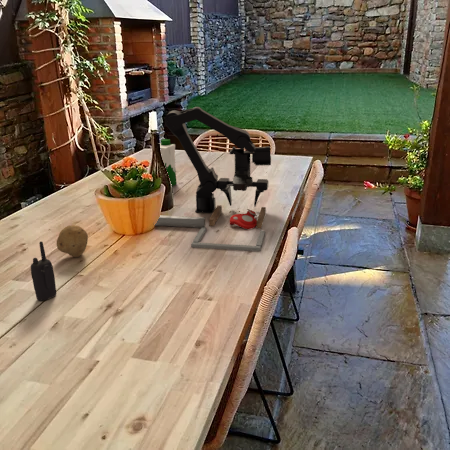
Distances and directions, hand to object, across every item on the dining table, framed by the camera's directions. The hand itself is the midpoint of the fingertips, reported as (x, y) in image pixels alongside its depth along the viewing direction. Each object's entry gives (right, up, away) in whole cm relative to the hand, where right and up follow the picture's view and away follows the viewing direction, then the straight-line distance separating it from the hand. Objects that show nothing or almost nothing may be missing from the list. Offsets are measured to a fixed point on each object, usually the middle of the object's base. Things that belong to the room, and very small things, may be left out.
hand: (242, 206), depth 178 cm
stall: (-2, -5, -9) cm, 11 cm away
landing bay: (-5, -12, -26) cm, 29 cm away
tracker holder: (+1, -7, -13) cm, 14 cm away
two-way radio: (-52, -26, -58) cm, 82 cm away
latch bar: (-22, -8, -14) cm, 28 cm away
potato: (-52, -17, -36) cm, 65 cm away
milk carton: (-33, +10, +33) cm, 48 cm away
